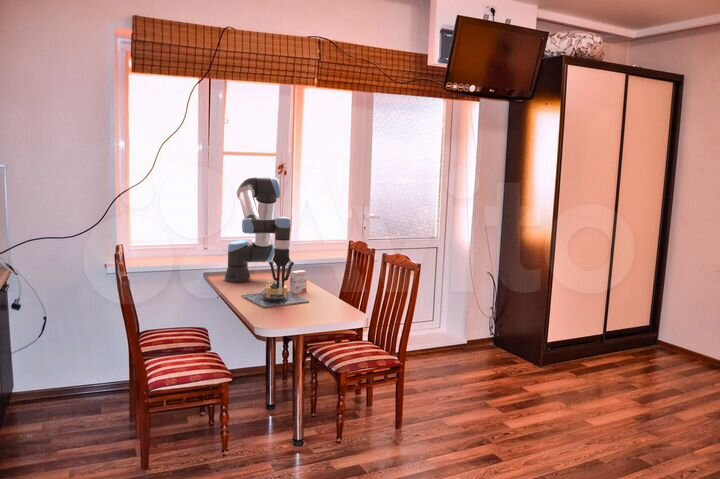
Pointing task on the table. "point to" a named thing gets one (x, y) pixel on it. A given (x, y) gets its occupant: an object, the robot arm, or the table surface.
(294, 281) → the ink box
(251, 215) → the robot arm
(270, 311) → the table surface
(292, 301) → the cap plate
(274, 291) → the octagonal ring stand
